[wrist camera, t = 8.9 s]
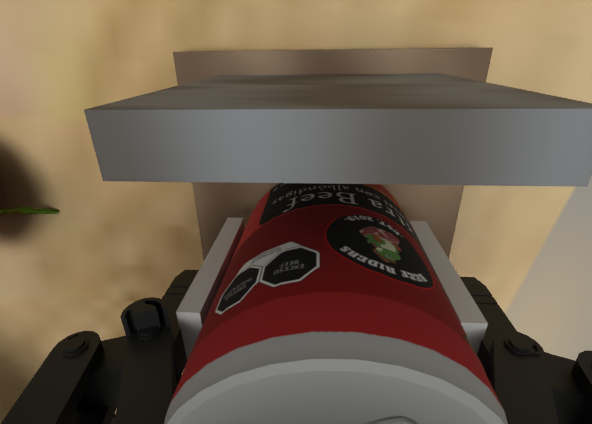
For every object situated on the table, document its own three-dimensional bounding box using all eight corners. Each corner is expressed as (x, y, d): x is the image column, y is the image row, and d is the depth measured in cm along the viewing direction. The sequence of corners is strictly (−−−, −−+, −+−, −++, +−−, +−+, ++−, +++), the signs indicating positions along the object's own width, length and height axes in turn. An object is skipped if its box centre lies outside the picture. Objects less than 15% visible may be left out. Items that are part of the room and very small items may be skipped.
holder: (221, 318, 24) (146, 520, 14) (184, 51, 17) (-32, 55, 7) (424, 325, 23) (507, 547, 13) (478, 47, 16) (768, 44, 6)
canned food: (434, 197, 16) (622, 442, 6) (357, 317, 19) (397, 602, 9) (281, 134, 15) (205, 295, 5) (228, 270, 18) (122, 527, 9)
